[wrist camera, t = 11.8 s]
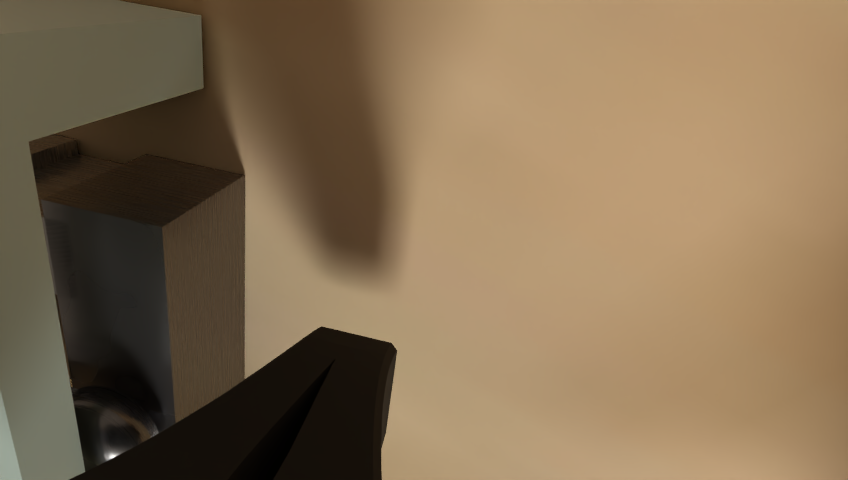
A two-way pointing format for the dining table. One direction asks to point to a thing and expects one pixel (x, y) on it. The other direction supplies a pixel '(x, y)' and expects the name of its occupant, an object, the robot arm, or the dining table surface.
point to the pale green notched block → (18, 200)
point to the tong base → (145, 274)
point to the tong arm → (107, 420)
